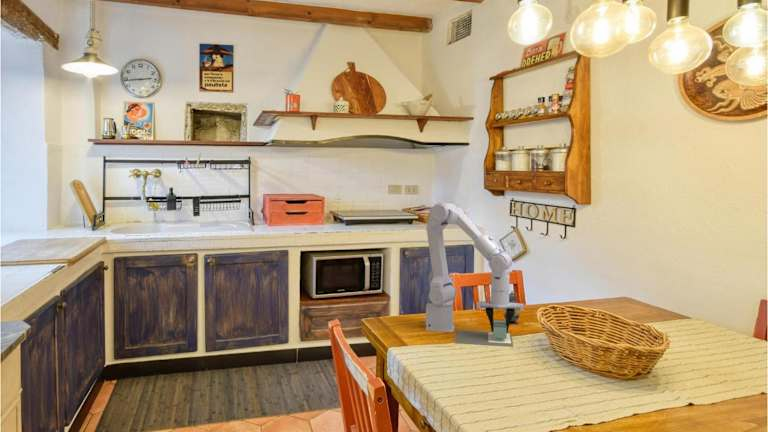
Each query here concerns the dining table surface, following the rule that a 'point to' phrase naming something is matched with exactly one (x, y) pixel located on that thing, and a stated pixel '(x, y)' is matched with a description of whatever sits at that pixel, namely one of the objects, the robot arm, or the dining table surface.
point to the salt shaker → (513, 299)
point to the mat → (482, 338)
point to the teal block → (499, 329)
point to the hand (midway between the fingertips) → (499, 331)
